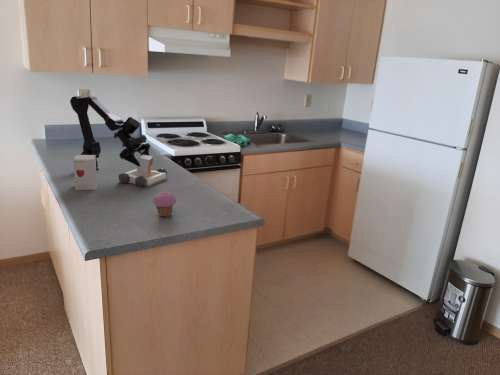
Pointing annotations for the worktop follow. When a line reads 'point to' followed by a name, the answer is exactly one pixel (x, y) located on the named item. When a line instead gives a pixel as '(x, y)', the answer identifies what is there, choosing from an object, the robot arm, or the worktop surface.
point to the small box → (144, 166)
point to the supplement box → (85, 172)
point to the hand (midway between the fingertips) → (145, 164)
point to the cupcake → (164, 203)
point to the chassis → (141, 180)
